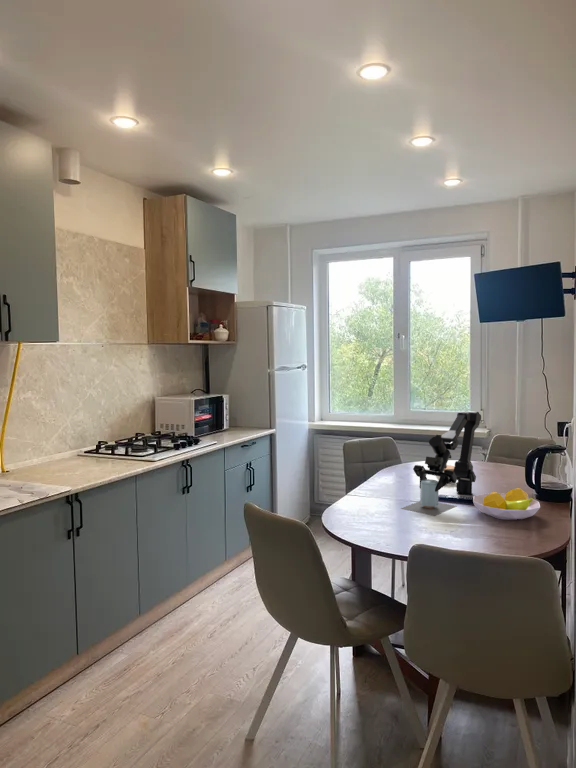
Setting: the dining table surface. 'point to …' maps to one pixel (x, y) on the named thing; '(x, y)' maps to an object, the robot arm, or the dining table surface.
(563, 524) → the dining table surface
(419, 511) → the placemat
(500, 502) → the fruit bowl
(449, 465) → the lidded jar
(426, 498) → the dome-topped octagonal prism
